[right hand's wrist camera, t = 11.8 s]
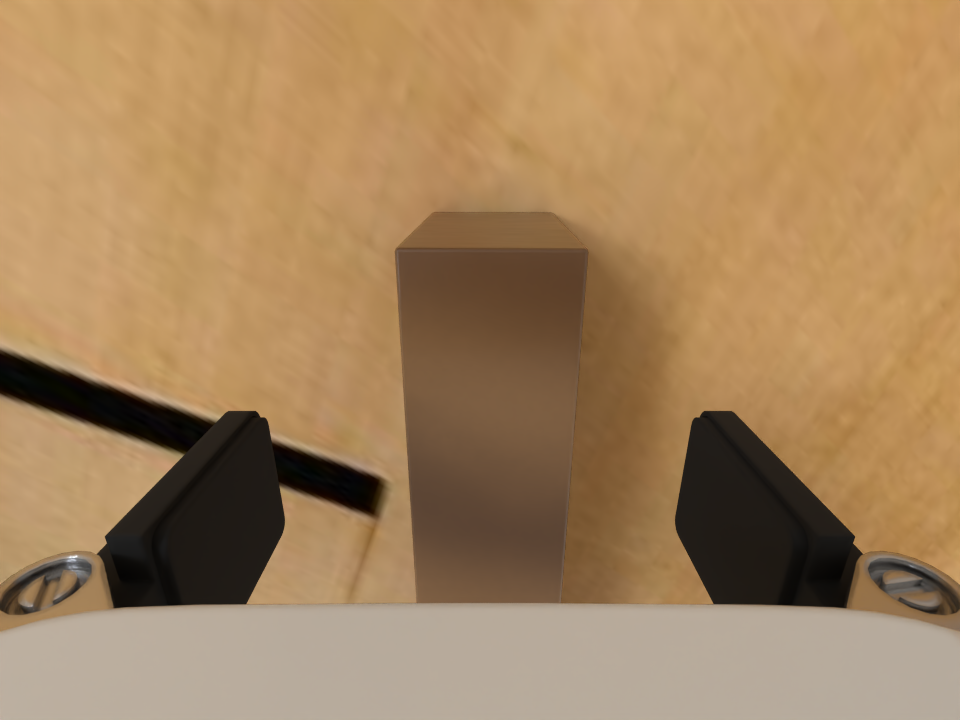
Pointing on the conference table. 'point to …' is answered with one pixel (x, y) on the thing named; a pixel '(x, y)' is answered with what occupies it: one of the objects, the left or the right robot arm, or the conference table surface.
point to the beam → (490, 401)
